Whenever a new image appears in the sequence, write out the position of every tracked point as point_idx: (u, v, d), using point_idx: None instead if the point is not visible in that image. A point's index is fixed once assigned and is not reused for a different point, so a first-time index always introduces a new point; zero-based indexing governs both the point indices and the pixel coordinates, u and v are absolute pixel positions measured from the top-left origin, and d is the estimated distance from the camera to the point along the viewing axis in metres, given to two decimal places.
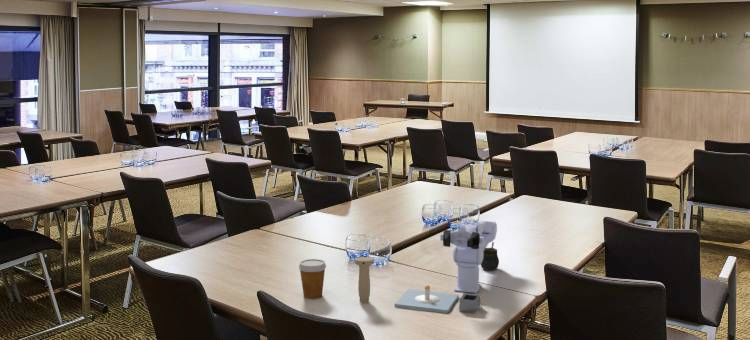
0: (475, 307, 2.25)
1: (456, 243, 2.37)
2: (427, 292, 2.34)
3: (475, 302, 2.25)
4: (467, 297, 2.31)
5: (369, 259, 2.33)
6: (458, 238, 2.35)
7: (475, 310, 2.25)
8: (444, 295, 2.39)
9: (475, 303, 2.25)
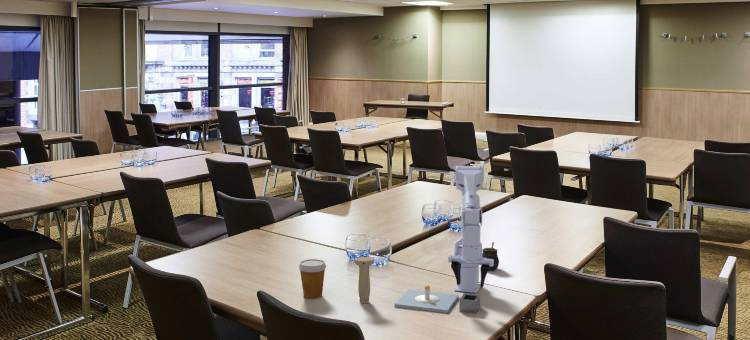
0: (475, 307, 2.25)
1: None
2: (427, 292, 2.34)
3: (475, 302, 2.25)
4: (467, 297, 2.31)
5: (369, 259, 2.33)
6: (467, 263, 2.27)
7: (475, 310, 2.25)
8: (444, 295, 2.39)
9: (475, 303, 2.25)
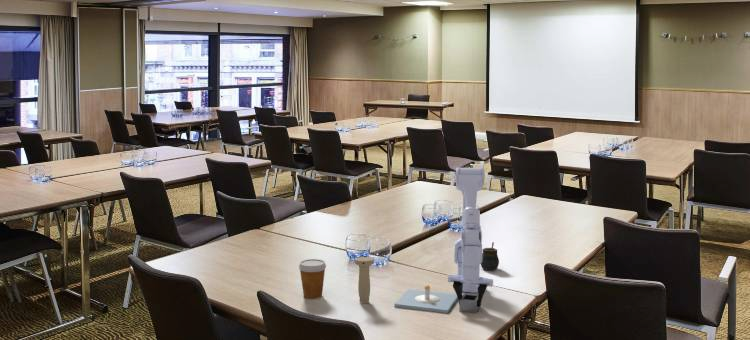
0: (475, 307, 2.25)
1: None
2: (427, 292, 2.34)
3: (475, 302, 2.25)
4: (467, 297, 2.31)
5: (369, 259, 2.33)
6: (467, 283, 2.28)
7: (475, 310, 2.25)
8: (444, 295, 2.39)
9: (475, 303, 2.25)
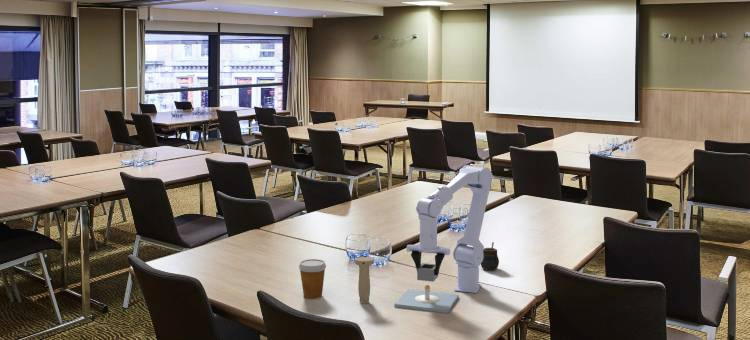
0: (432, 275, 2.30)
1: None
2: (427, 292, 2.34)
3: (432, 270, 2.30)
4: (425, 266, 2.36)
5: (369, 259, 2.33)
6: (425, 252, 2.33)
7: (432, 278, 2.30)
8: (444, 295, 2.39)
9: (432, 271, 2.30)
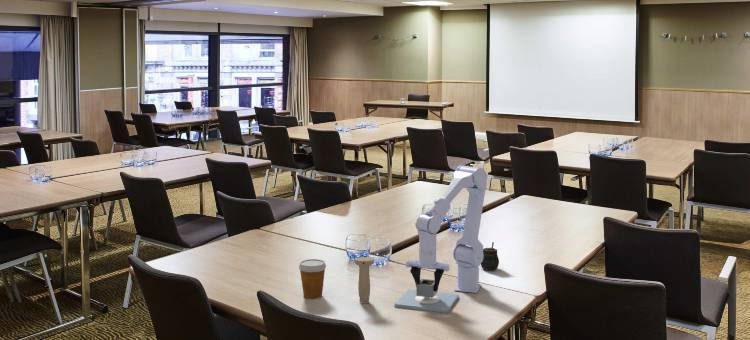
0: (431, 291, 2.31)
1: None
2: None
3: (431, 287, 2.31)
4: (425, 282, 2.37)
5: (369, 259, 2.33)
6: (424, 268, 2.34)
7: (431, 294, 2.31)
8: (444, 295, 2.39)
9: (431, 288, 2.31)
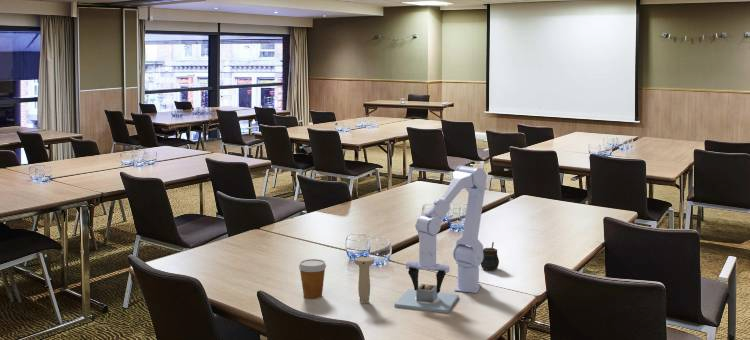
0: (431, 297, 2.31)
1: None
2: None
3: (431, 292, 2.31)
4: None
5: (369, 259, 2.33)
6: None
7: (431, 300, 2.32)
8: (444, 295, 2.39)
9: (431, 293, 2.31)
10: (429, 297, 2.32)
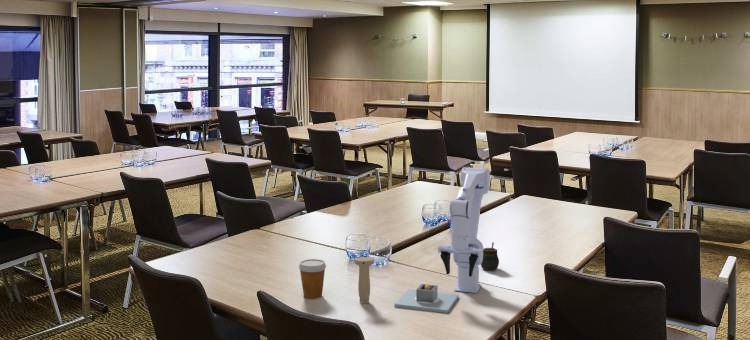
0: (431, 297, 2.31)
1: None
2: None
3: (431, 292, 2.31)
4: None
5: (369, 259, 2.33)
6: (456, 253, 2.34)
7: (431, 300, 2.32)
8: (444, 295, 2.39)
9: (431, 293, 2.31)
10: (429, 297, 2.32)
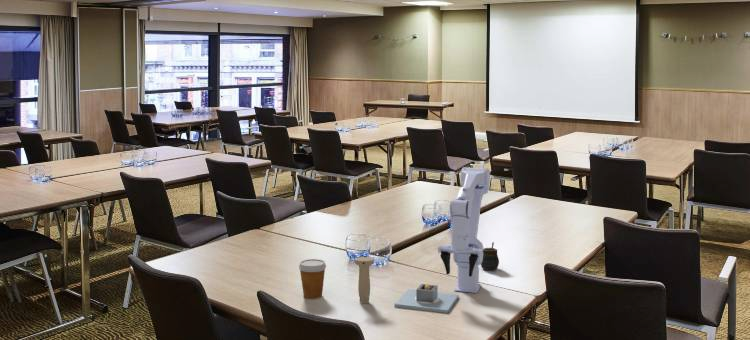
0: (431, 297, 2.31)
1: None
2: None
3: (431, 292, 2.31)
4: None
5: (369, 259, 2.33)
6: (456, 253, 2.34)
7: (431, 300, 2.32)
8: (444, 295, 2.39)
9: (431, 293, 2.31)
10: (429, 297, 2.32)
